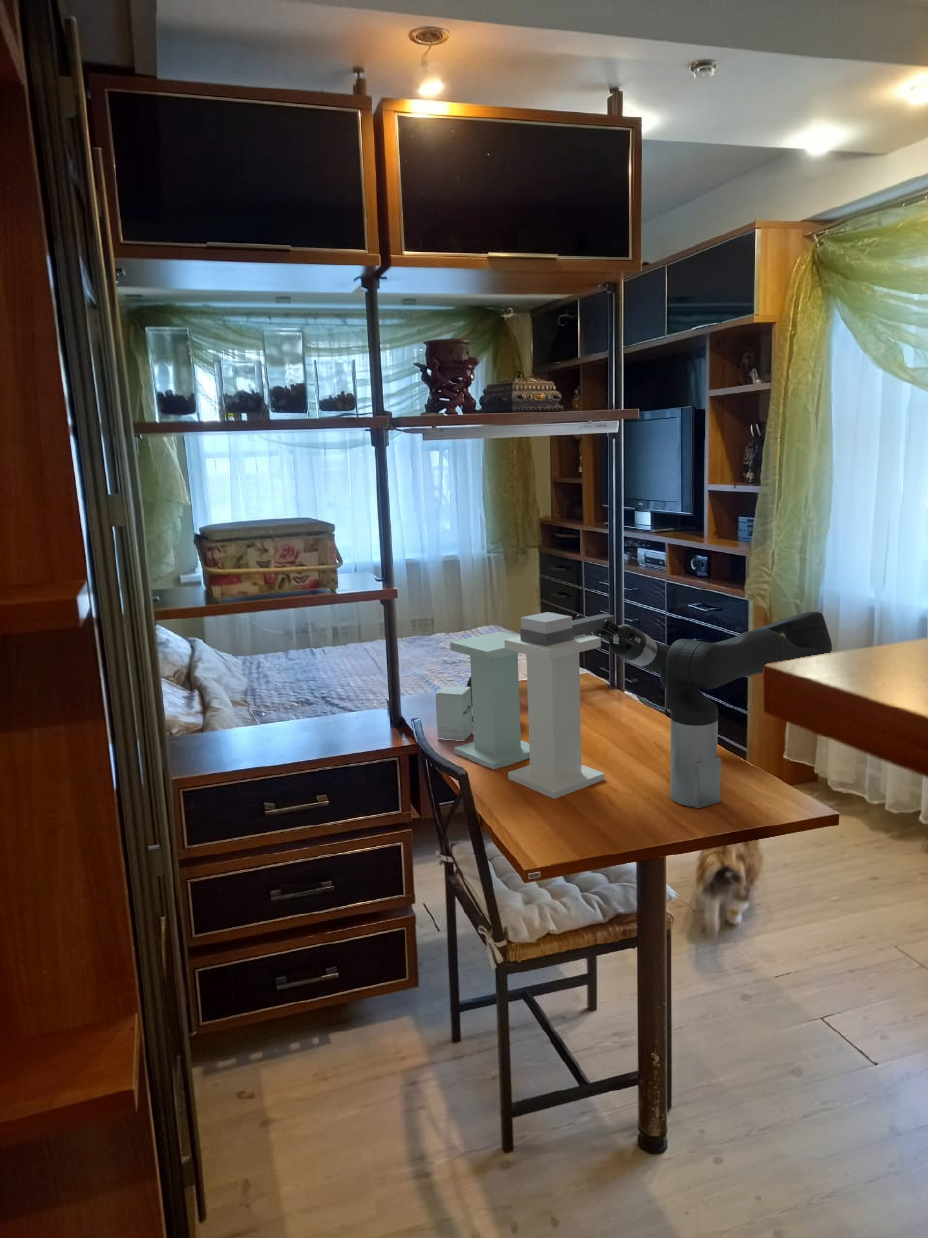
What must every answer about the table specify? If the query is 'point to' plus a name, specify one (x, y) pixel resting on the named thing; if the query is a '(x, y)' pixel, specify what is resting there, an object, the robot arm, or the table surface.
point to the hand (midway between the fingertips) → (590, 621)
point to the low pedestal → (493, 701)
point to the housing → (558, 627)
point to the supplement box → (454, 712)
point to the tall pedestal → (554, 717)
